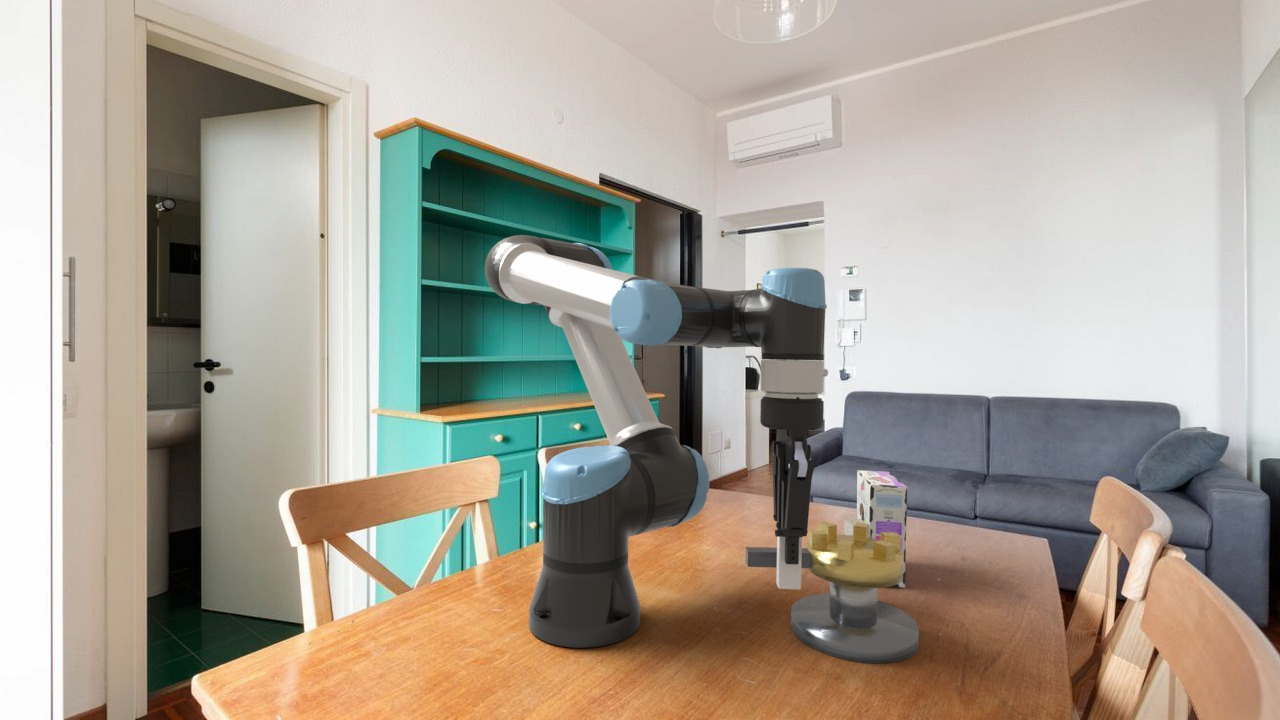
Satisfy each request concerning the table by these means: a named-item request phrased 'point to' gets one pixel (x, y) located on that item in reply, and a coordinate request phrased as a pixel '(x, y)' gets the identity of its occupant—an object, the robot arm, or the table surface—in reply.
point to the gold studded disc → (844, 557)
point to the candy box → (883, 506)
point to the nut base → (855, 639)
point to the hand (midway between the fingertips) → (788, 586)
